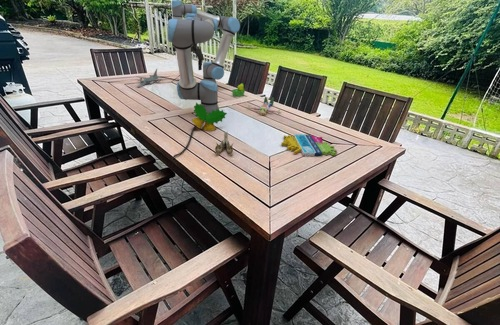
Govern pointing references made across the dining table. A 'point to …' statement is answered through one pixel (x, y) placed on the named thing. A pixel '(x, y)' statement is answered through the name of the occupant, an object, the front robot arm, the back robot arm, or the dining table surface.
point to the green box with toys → (239, 91)
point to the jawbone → (224, 145)
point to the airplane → (149, 79)
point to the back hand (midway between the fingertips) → (179, 52)
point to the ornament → (207, 117)
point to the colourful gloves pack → (308, 145)
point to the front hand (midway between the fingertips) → (193, 68)
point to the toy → (265, 107)
